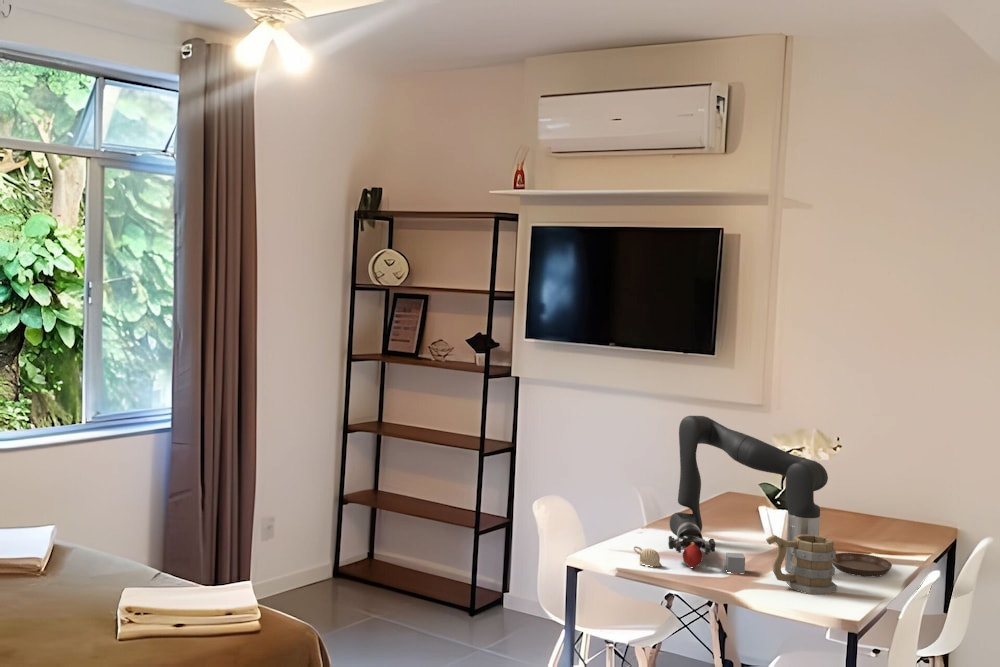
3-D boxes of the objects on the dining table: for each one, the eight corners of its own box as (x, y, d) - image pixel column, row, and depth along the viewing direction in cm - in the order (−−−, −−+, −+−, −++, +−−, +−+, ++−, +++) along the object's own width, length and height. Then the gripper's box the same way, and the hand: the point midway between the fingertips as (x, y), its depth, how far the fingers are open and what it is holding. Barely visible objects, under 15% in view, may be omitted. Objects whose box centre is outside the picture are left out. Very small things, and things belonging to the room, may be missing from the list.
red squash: (688, 564, 298) (689, 538, 297) (705, 568, 294) (706, 542, 294) (678, 568, 293) (680, 541, 293) (696, 572, 290) (697, 545, 289)
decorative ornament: (658, 569, 292) (659, 551, 292) (631, 564, 296) (632, 547, 295) (662, 566, 296) (663, 548, 295) (635, 561, 299) (636, 544, 299)
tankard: (824, 581, 285) (827, 530, 284) (841, 595, 273) (844, 541, 272) (757, 579, 284) (759, 528, 284) (770, 593, 272) (773, 540, 271)
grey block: (742, 570, 294) (743, 553, 294) (744, 574, 289) (745, 558, 289) (725, 568, 295) (726, 552, 295) (727, 573, 290) (727, 557, 290)
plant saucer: (883, 583, 286) (883, 572, 286) (822, 571, 296) (822, 561, 296) (897, 569, 301) (898, 560, 301) (839, 559, 311) (839, 549, 311)
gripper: (666, 523, 308) (669, 536, 292) (713, 526, 307) (718, 539, 290) (665, 546, 309) (668, 561, 292) (712, 549, 307) (717, 564, 291)
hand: (693, 550), depth 291 cm, fingers open, 7 cm apart
